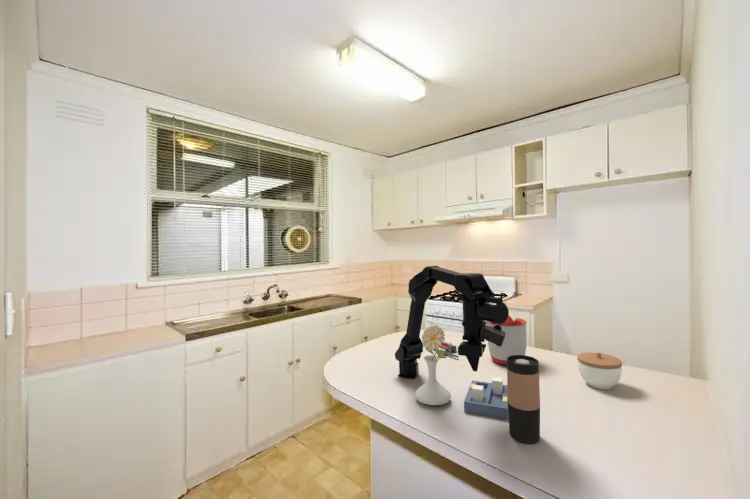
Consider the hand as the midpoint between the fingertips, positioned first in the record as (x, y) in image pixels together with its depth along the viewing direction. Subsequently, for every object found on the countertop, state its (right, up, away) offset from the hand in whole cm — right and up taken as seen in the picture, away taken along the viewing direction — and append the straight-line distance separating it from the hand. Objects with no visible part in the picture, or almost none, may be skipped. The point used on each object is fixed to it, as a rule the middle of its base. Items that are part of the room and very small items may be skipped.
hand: (475, 370), depth 96 cm
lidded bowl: (+48, -11, +17) cm, 52 cm away
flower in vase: (-10, -14, +10) cm, 20 cm away
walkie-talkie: (+4, -12, +56) cm, 57 cm away
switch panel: (+7, -13, +8) cm, 16 cm away
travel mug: (+10, -13, -10) cm, 19 cm away
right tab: (+11, -11, +11) cm, 19 cm away
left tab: (+3, -11, +6) cm, 13 cm away
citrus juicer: (+26, -12, +43) cm, 52 cm away
